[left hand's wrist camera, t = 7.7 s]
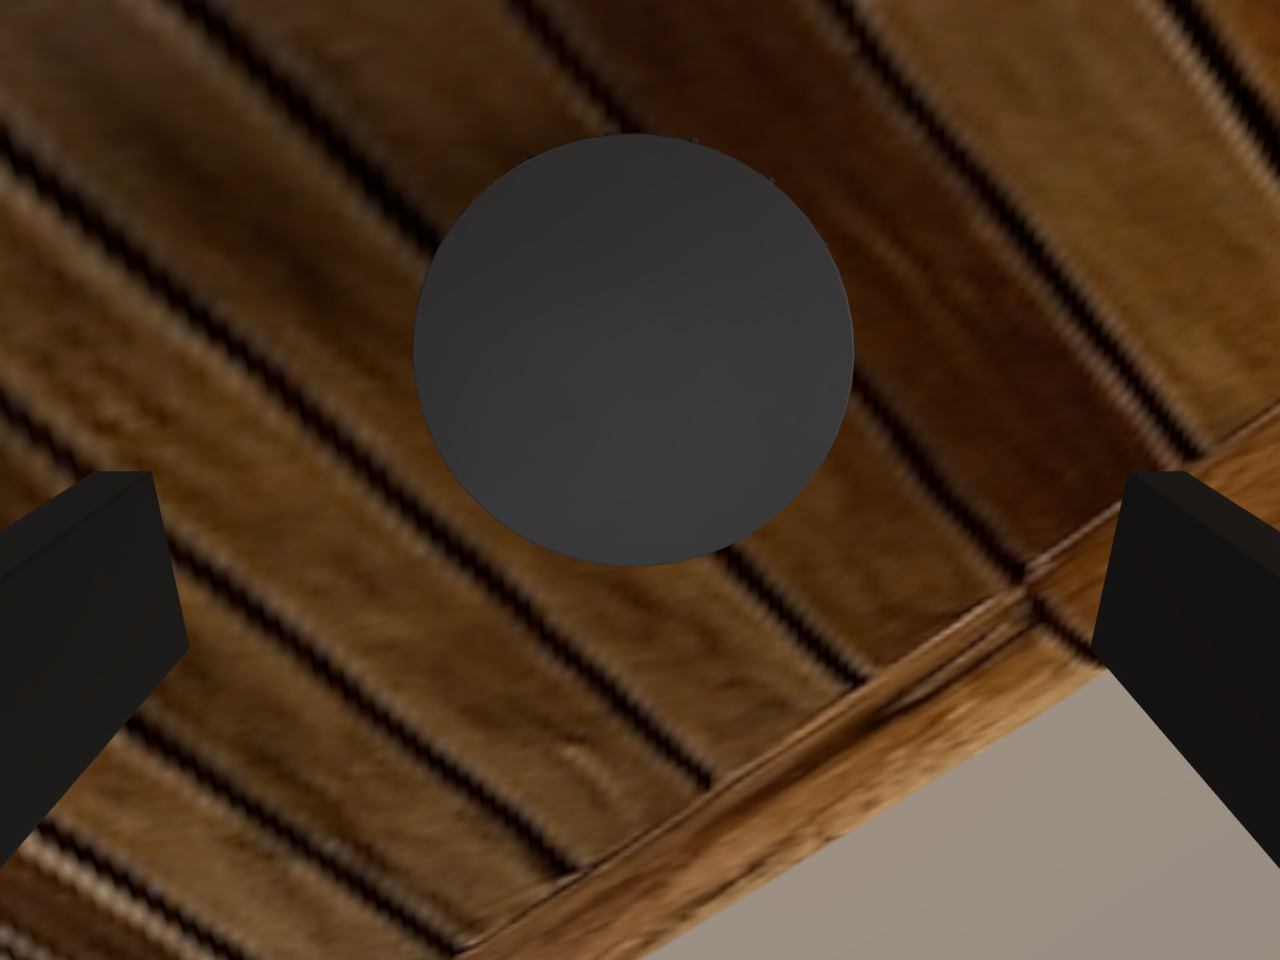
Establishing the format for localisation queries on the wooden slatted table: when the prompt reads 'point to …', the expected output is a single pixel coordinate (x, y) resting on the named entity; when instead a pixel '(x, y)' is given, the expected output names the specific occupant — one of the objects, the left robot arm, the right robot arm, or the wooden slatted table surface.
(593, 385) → the lid
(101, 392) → the wooden slatted table surface
